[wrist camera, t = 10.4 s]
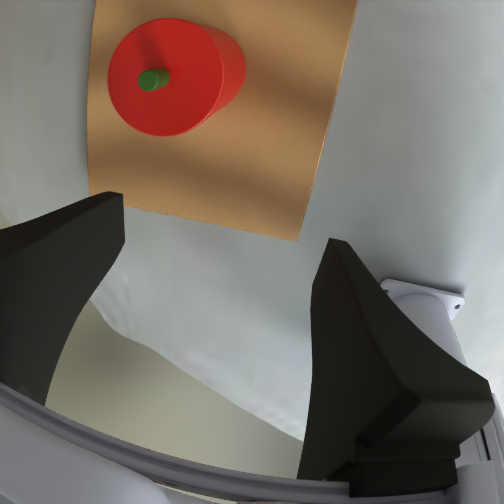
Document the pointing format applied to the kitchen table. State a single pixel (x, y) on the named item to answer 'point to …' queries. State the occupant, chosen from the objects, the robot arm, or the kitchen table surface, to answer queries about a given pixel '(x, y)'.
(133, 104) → the pepper
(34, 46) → the kitchen table surface
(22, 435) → the robot arm
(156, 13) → the cutting board
